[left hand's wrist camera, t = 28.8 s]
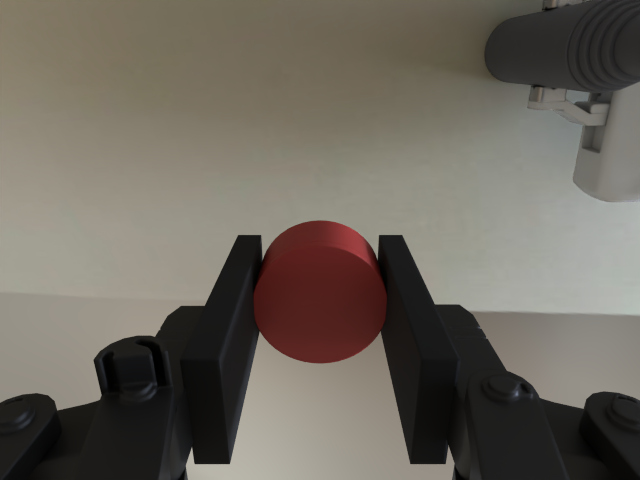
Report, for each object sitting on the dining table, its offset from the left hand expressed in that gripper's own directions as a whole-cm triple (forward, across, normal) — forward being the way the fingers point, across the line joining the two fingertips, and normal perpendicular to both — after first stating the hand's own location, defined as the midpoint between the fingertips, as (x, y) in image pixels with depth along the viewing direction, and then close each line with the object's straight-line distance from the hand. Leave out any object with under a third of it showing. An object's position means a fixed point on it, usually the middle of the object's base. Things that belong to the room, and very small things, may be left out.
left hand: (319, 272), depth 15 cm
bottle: (+24, +15, +7) cm, 29 cm away
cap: (-2, 0, 0) cm, 2 cm away
